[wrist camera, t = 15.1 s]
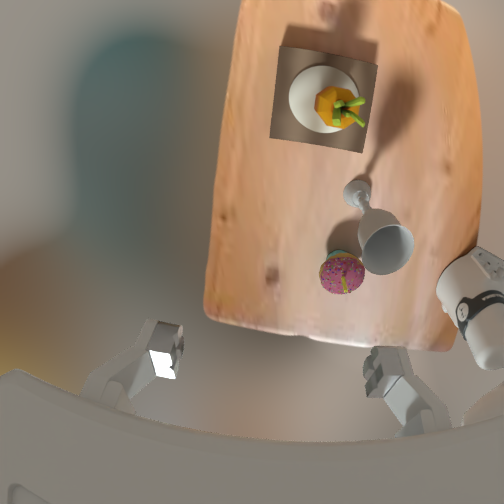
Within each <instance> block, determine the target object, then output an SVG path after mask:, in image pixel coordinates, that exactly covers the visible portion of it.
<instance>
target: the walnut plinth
mask: <svg viewBox="0 0 504 504" xmlns="http://www.w3.org/2000/svg"><path fill="white" fill-rule="evenodd" d="M377 67H378V65H375V64H372V63H368V62H364V61H360V60H356V59H352V58H348V57H343V56H339V55H334V54H329V53H324V52H318V51H312V50H306V49H300V48H293V47H285V46H280V48H279V57H278V66H277V75H276V84H275V93H274V102H273V111H272V120H271V128H270V137H269V138H274V139H281V140H289V141H296V142H303V143H309V144H315V145H321V146H327V147H332V148H338V149H343V150H348V151H353V152H358V153H363V148H364V143H365V138H366V133H367V128H368V123H369V117H370V112H371V106H372V100H373V94H374V88H375V81H376V74H377ZM328 86H335V87H340V88H345V89H349V90H351V92H352V93H353V95H354V96H355V97H356V98H357V97H364V98H365V103H364V104H362V105H360V108H359V114H358V116H359V117H360V118H362V119H363V120H364V121H365V126H364V127H362V126H360V125H359V124H358V123H357V122H356V121H355V122H354V123H352V124H351V125H349V126H348V127H346V128H345V129H341V128H336V127H331V126H326V124H325V123H324V122H323V120H322V119H321V118H320V116H319V115H318V114H317V112H316V111H315V110H314V105H315V98H316V94H317V93H319V92H320V91H322V90H323V89H325V88H326V87H328Z"/></svg>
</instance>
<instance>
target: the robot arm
mask: <svg viewBox="0 0 504 504" xmlns="http://www.w3.org/2000/svg"><path fill="white" fill-rule="evenodd" d="M436 293H437V297H438V298H439V300H440V301H441V302H442V309H443V311H444V312H448V314H449V315H450V317H451V319H452V320H453V322H454V323H455V325H456V326H457V327H458V328H459V330H460V333H461V335H462V336H463V338H464V339H465V340H466V341H467V342H468V344H469V346H470V349H471V351H472V353H473V356H474V358H475V360H476V363H477V364H478V365H479V366H480V367H481V368H483V369H486V370H497V369H501V368H504V260H502V259H500V258H498V257H497V256H495V255H493V254H492V253H490V252H488V251H486V250H484V249H482V248H481V247H479V246H477V247H475V248H473V249H472V250H471V251H470V252H469V253H468V254H467V255H465V256H463V257H460V258H459V259H457V260H455V261H454V262H453V263H451V264H450V265H449V266H448V267H447V268H446V269H445V271H444V272H443V273H442V275H441V277H440V278H439V281H438V283H437V288H436ZM182 333H183V327H182V326H181V325H177V324H171V323H167V322H162V321H158V320H153V319H147V320H146V321H145V323H144V326H143V328H142V330H141V332H140V334H139V336H138V338H137V341H136V343H135V345H134V347H129V348H127V349H126V350H124V351H123V352H121V353H120V354H118V355H117V356H115V357H114V358H112V359H110V360H109V361H107V362H106V363H104V364H103V365H102V366H100V367H98V368H97V369H95V370H94V371H92V372H90V374H89V376H88V378H87V381H86V383H85V385H84V387H83V389H82V391H81V393H80V395H79V396H78V395H75V394H73V393H71V392H68V391H66V390H63V389H61V388H59V387H56V386H54V385H52V384H50V383H48V382H45V381H43V380H41V379H39V378H37V377H35V376H33V375H31V374H29V373H27V372H25V371H23V370H20V369H14V370H12V371H9V372H7V373H6V374H4V375H2V376H0V504H504V381H503V382H502V383H501V384H499V385H498V386H497V387H495V388H494V389H492V390H491V391H490V392H488V393H487V394H485V395H484V396H483V397H482V398H480V399H479V400H478V401H477V402H476V403H475V404H474V405H473V406H471V408H469V409H468V410H467V411H466V412H465V413H464V415H463V418H462V422H461V426H460V427H456V428H452V424H451V420H450V417H449V413H448V409H447V406H446V405H445V404H444V403H443V402H442V401H441V400H440V399H439V398H438V396H437V395H435V393H433V391H432V390H430V388H429V387H428V386H427V385H426V384H425V383H424V382H423V381H422V380H421V379H420V378H419V377H418V376H417V375H414V373H413V369H412V366H411V362H410V359H409V356H408V353H407V349H406V348H405V347H401V346H374V347H373V348H372V349H371V355H370V356H368V357H367V358H366V360H365V361H364V365H363V376H364V378H365V379H366V380H367V383H366V385H365V388H366V395H367V397H368V398H383V399H384V400H385V402H386V403H387V404H388V406H389V407H390V409H391V410H392V411H393V413H394V414H395V415H396V417H397V418H398V420H399V421H400V423H401V424H402V425H403V427H402V428H401V429H400V430H399V431H398V432H397V433H396V434H395V438H388V439H377V440H364V441H343V442H341V441H340V442H305V441H304V442H303V441H283V440H269V439H258V438H248V437H240V436H232V435H225V434H219V433H212V432H206V431H201V430H195V429H190V428H186V427H181V426H176V425H172V424H167V423H163V422H159V421H155V420H152V419H148V418H144V417H140V416H137V415H135V414H136V411H135V409H134V407H133V405H132V403H131V402H130V399H131V398H132V397H133V396H135V395H136V394H137V393H138V392H139V391H140V390H142V389H143V388H144V387H145V386H146V385H147V384H148V383H150V382H151V381H152V380H153V379H154V378H155V377H156V376H162V377H166V378H172V379H175V378H176V374H177V371H178V368H179V364H178V360H180V359H181V358H182V355H183V350H184V338H183V336H182Z"/></svg>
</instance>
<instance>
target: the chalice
mask: <svg viewBox="0 0 504 504" xmlns="http://www.w3.org/2000/svg"><path fill="white" fill-rule="evenodd" d="M343 196H344V200H345V201H346V203H347V204H349V205H350V206H353V207H357V208H360V209H361V210H362V213H363V216H362V218H361V220H360V222H359V227H358V235H357V236H358V240H359V243H360V246H361V248H362V256H361V257H362V262H363V265H364V266H365V268H366V269H367V270H368V271H370V272H371V273H373V274H377V275H386V274H390V273H393V272H395V271H397V270H399V269H400V268H401V267H403V266H404V265H405V264H406V263H407V261H408V260H409V258H410V257H411V255H412V253H413V249H414V238H413V236H412V234H411V232H410V231H409V230H408V229H407V228H405V227H404V226H401V224H400V223H399V221H398V220H397V218H396V217H395V216H394V215H393V214H392V213H390V212H388V211H385V210H382V209H372V208H371V207H370V206H369V200H370V197H371V189H370V186H369V185H368V184H367V183H366V182H365V181H362V180H354V181H351V182H350V183H349V184H347V186H346V187H345V189H344V192H343Z"/></svg>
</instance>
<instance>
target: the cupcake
mask: <svg viewBox="0 0 504 504" xmlns="http://www.w3.org/2000/svg"><path fill="white" fill-rule="evenodd" d="M364 274H365V268H364V265H363V263H362V262H361V261H360V260H359V259H358V258H357V257H356V256H354V255H352V254H350V253H347V252H345V251H343V250H336V251H333V252H332V253H330V254H329V255H328V257H327V259H326V261H325V262H324V263H323V264H322V266H321V268H320V272H319V277H320V280H321V284H322V286H323V288H325V289H326V290H328V291H329V292H331V293H334V294H347V293H351V291H354V290H356V289H357V288H358V287H359V286H360V285H361V284H362V282H363V280H364V277H365V276H364Z"/></svg>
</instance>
